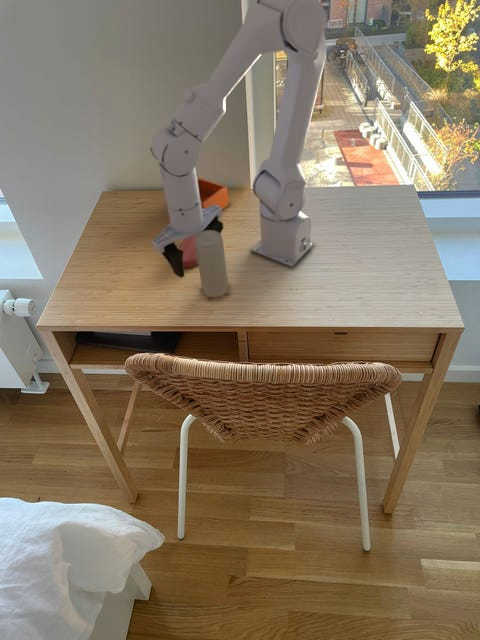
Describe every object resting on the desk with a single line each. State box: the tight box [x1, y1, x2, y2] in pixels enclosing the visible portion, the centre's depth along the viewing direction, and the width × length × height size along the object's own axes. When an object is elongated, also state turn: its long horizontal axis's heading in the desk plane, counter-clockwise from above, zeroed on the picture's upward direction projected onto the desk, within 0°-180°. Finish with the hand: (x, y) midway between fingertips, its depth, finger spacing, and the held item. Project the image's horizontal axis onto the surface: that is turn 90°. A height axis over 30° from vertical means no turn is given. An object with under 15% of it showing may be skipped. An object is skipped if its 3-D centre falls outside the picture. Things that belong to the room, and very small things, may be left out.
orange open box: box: [197, 177, 229, 210], centre depth 109 cm, size 8×8×5 cm
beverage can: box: [195, 230, 229, 298], centre depth 87 cm, size 5×5×12 cm
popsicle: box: [179, 235, 198, 268], centre depth 101 cm, size 5×2×15 cm
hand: (194, 264), depth 91 cm, fingers open, 7 cm apart
